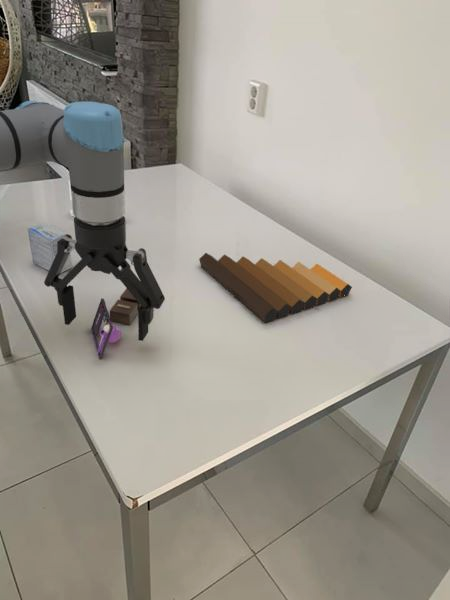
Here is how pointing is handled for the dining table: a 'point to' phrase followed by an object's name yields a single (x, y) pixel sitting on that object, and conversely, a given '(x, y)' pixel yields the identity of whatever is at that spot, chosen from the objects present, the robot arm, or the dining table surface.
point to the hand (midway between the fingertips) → (106, 328)
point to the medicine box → (46, 245)
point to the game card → (104, 328)
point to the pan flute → (275, 285)
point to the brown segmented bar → (124, 309)
